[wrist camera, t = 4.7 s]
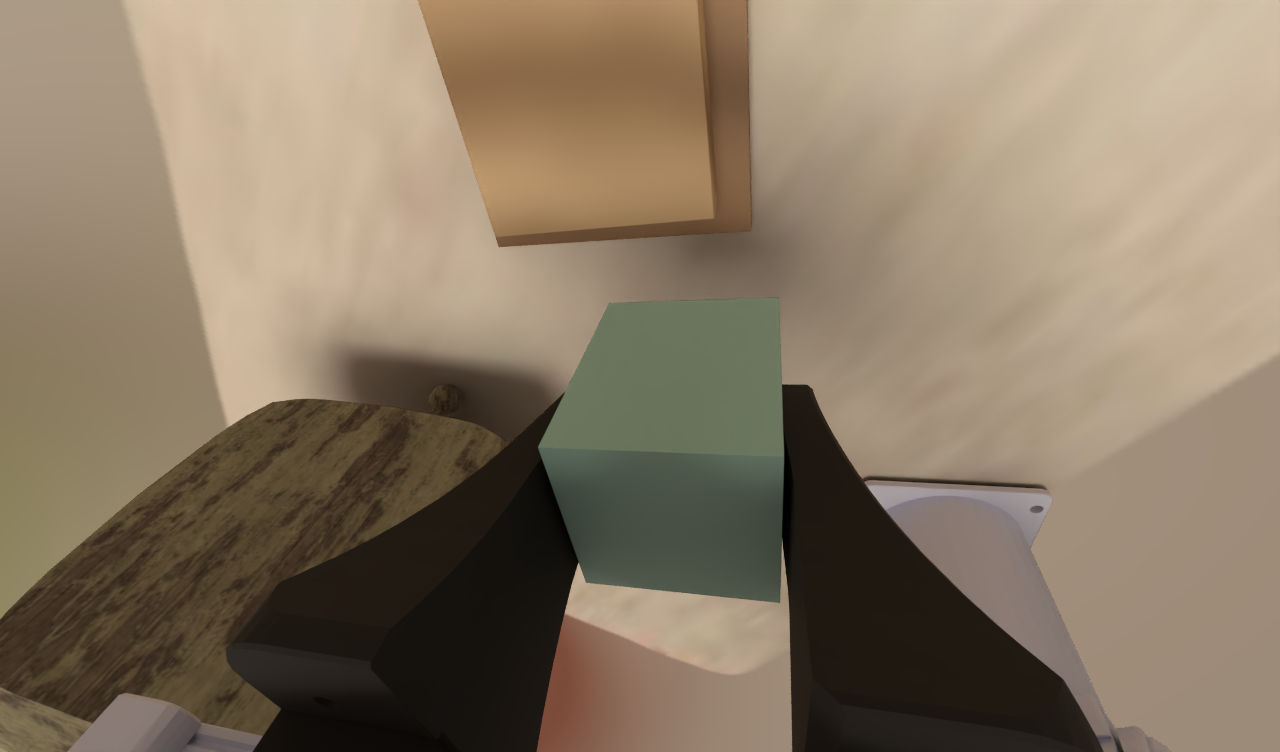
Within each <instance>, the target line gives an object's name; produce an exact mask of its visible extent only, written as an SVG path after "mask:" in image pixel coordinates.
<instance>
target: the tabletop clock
mask: <svg viewBox="0 0 1280 752" xmlns="http://www.w3.org/2000/svg"><path fill="white" fill-rule="evenodd" d="M461 403H462V398H461V395H460V392H459V391H458V389H457V388H455V387H453V386H451V385H440V386H438V387H436V388H435V389H434V390H433V391H432V393H431V394H430V396H429V404H430V406H431V408H432V410H433V413H432V414H427V413H422V412H417V411H412V410H406V409H401V408H396V407H389V406H380V405H370V404H361V403H351V402H342V401H332V400H321V399H295V400H287V401H279V402H272V403H270V404H268V405H267V406H265V407H263V408H261V409H259V410H257V411H255V412H253V413H251V414H249V415H247V416H246V417H244V418H242V419H241V420H239V421H238V422H236V423H235V424H233V425H231V426H230V427H228V428H227V429H226V430H224V431H223V432H221V433H220V434H218V435H216V436H215V437H214V438H212V439H211V440H210V441H209V442H207V443H206V444H204V445H203V446H202V447H201V448H199V449H198V450H197V451H195V452H194V453H193V454H191V455H190V456H189V457H187V458H186V459H185V460H183V461H182V462H181V463H180V464H178V465H177V466H176V467H174V468H173V469H172V470H170V471H169V472H168V473H166V474H165V475H164V476H162V477H161V478H160V479H158V480H157V481H156V482H154V483H153V484H152V485H150V486H149V487H148V488H147V489H145V490H144V491H143V492H141V493H140V494H139V495H137V496H136V497H135V498H134V499H133V500H132V501H130V502H129V503H128V504H127V505H126V506H125V507H123V508H122V509H121V510H120V511H119V512H118V513H116V514H115V515H114V516H113V517H112V518H111V519H109V520H108V521H107V522H106V523H105V524H103V525H102V526H101V527H100V528H99V529H98V530H96V531H95V532H94V533H93V534H92V535H91V536H89V537H88V538H87V539H86V540H85V541H84V542H82V543H81V544H80V545H79V546H78V547H76V548H75V549H74V550H73V551H72V552H71V553H70V554H68V555H67V556H66V557H65V558H64V559H63V560H61V561H60V562H59V563H58V564H57V565H55V566H54V567H53V568H52V569H51V570H49V571H48V572H47V573H46V574H45V575H44V576H43V577H42V578H41V579H40V580H39V581H38V582H37V583H36V584H35V585H34V586H33V587H32V588H31V589H29V590H28V591H27V592H26V593H25V594H24V595H23V596H22V597H21V598H20V599H19V600H18V601H17V602H16V603H15V604H14V605H13V606H12V607H11V608H10V609H9V610H8V611H7V612H6V613H5V615H4V616H3V617H2V618H1V619H0V747H1V748H2V749H4V750H6V751H8V752H67V751H68V750H69V749H70V748H71V747H72V746H73V745H74V744H75V743H76V741H77V740H78V739H79V738H80V737H81V736H82V735H83V734H84V733H85V732H86V730H87V729H88V728H89V727H90V726H91V725H92V724H93V723H94V722H95V721H96V719H97V718H98V717H99V716H100V715H101V714H102V713H103V712H104V711H105V710H106V708H107V707H108V706H109V705H110V704H111V703H112V702H113V701H114V700H115V699H116V698H117V696H118V695H120V694H124V693H129V694H134V695H139V696H144V697H149V698H154V699H158V700H163V701H167V702H170V703H173V704H175V705H178V706H180V707H182V708H184V709H186V710H187V711H189V712H191V713H192V714H194V715H195V716H196V717H198V718H199V719H200V721H201V723H205V724H210V725H214V726H219V727H223V728H228V729H233V730H237V731H242V732H247V733H251V734H256V735H261V736H263V735H264V734H265V732H266V731H267V729H268V728H269V726H270V725H271V723H272V722H273V720H274V719H275V717H276V716H277V714H278V713H279V711H280V710H281V708H279V707H278V706H277V705H276V704H274V703H273V702H272V701H271V700H269V699H268V698H267V697H265V696H264V695H263V694H262V693H260V692H259V691H258V690H256V689H255V688H254V687H253V686H251V685H250V684H249V683H248V682H246V681H245V680H244V679H242V678H241V677H240V676H239V675H238V674H237V673H236V672H235V671H234V670H232V668H231V667H230V665H229V664H228V662H227V660H226V648H227V646H228V645H229V644H230V643H231V641H232V640H233V639H234V638H235V637H236V635H237V634H238V633H239V632H240V630H241V629H242V628H243V627H244V625H245V624H246V623H247V622H248V621H249V619H250V618H251V617H252V616H253V614H254V613H255V612H256V611H257V609H258V608H259V607H260V606H261V604H262V603H263V602H264V601H265V600H266V598H267V597H268V596H269V595H270V593H271V592H272V591H273V590H274V588H275V587H276V586H277V585H278V583H279V582H281V581H283V580H286V579H288V578H290V577H293V576H295V575H297V574H299V573H301V572H304V571H306V570H308V569H310V568H312V567H315V566H317V565H319V564H321V563H323V562H326V561H328V560H330V559H332V558H334V557H336V556H338V555H340V554H343V553H345V552H347V551H349V550H351V549H353V548H354V547H356V546H358V545H360V544H362V543H364V542H366V541H368V540H370V539H372V538H374V537H375V536H377V535H379V534H381V533H383V532H384V531H386V530H388V529H390V528H392V527H393V526H395V525H397V524H399V523H400V522H402V521H404V520H405V519H407V518H408V517H410V516H412V515H413V514H415V513H416V512H418V511H420V510H421V509H423V508H424V507H426V506H428V505H429V504H431V503H432V502H434V501H436V500H437V499H439V498H440V497H442V496H443V495H445V494H446V493H448V492H449V491H450V490H452V489H453V488H455V487H456V486H457V485H459V484H460V483H462V482H463V481H464V480H466V479H467V478H468V477H470V476H471V475H472V474H474V473H475V472H476V471H478V470H479V469H480V468H481V467H483V466H484V465H485V464H486V463H488V462H489V461H490V460H491V459H492V458H493V457H495V456H496V455H497V454H498V453H499V452H500V451H502V450H503V449H504V448H505V447H506V446H508V445H509V443H507V442H506V441H505V440H503V439H502V438H500V437H499V436H497V435H496V434H494V433H492V432H491V431H489V430H487V429H486V428H484V427H482V426H479V425H476V424H474V423H471V422H467V421H463V420H459V419H454V418H448V417H443V415H445V416H448V415H451V414H453V413H455V412H456V411H457V410H458V409H459V407H460V406H461Z"/></svg>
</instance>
